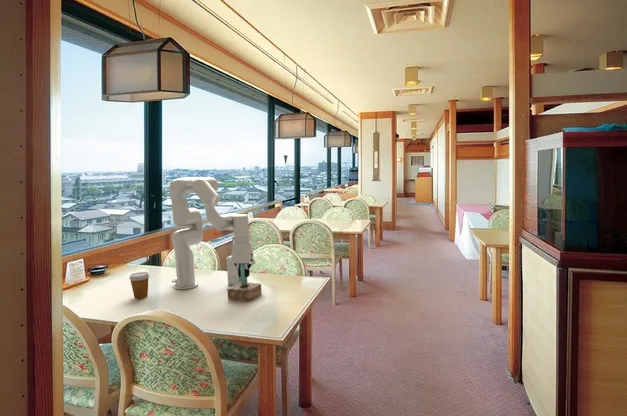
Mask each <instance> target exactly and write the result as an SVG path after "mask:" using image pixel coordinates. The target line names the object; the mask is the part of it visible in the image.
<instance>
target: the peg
mask: <svg viewBox="0 0 627 416" xmlns="http://www.w3.org/2000/svg"><path fill="white" fill-rule="evenodd" d="M240 271H241V285H247V283H248V277H245V264H242V263H240Z"/></svg>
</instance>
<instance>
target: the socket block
mask: <svg viewBox="0 0 627 416" xmlns="http://www.w3.org/2000/svg"><path fill="white" fill-rule="evenodd" d="M262 293H263V292H262V283H259V282H258V283H257V282H247V285H241V282H240V283H238V284H236V285H231V286H230V287H229V288H227V300H228V301H237V302H238V301H239V302H248V303H250V302H252V301H253V300H255V299H257V298H259V296H261V295H262Z"/></svg>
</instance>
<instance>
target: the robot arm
mask: <svg viewBox="0 0 627 416" xmlns="http://www.w3.org/2000/svg"><path fill="white" fill-rule="evenodd" d="M218 190H219V182H218V180H217V179H216V178H214V177H212V176H207V177H206V176H205V177H203V176H198V177H197V176H196V177H195V176H194V177H181V178H176V179H173V180H172V181H171V182H170V184H169V187H168V193H169V194H168V195H169V197H170V201H171V210H172V212H171V213H172V220H173V225H174V226H175V227H176V228H184V227H186V228H184V229H180V230H176V231H174V232H173V233H172V235H171V242H172V245H173V246H172V247H173V251H174V259H175V274H176V277H173V279H172V280H171V282H172V283H175V284H174V289H175V290H180V291H181V290H189V289H194V288H197V287H198V286H199V282H197V281H196V274H195V258H194V252H193V251H192V249H191V248H190V247H191V246H194V245H198V244H200V243H201V242H202V241H203V240H204V227H203V217H202V214H201V212H200V210H199V209H197V208H196V207H189V201H188V199H187V197H186V195H187V194H189V195H190V194H196V195H197V197H198V198H199V200H201V202H202V203H203V204H204V206H205V215H206V219H207V221H208V222H209V223H210V225H211V226H212V227H213V228H214V229H215V230H217V231H220V232H221V231H226V230H232V232H233V237H231V240H233V242H232V245H231V255H232V261H231V263H232V264H234V265H235V266H236V267H237V269H238V276H239V277H241V271H240V263H242V264H245V277H247V278H248V277H250V271H251V270H250V268H251V267H252V266H254V265H256V260H255V259H254V250H253V246H252V242H251V241H250V240H251V239H250V223H249V216H248V215H247V214H245V213H244V214H243V213H242V214H240V213H239V214H238V213H234V212H233V213H226V214H225V213H224V214H220V213H219V212H218V211H217V209H216V208H215V207H216V206H217V205H218V204H219V203H220V201H221V197H220V195H219V193H218V192H217V191H218ZM187 227H189V228H187Z"/></svg>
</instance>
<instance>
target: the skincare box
mask: <svg viewBox="0 0 627 416" xmlns="http://www.w3.org/2000/svg"><path fill="white" fill-rule="evenodd" d="M225 259H226V260H225V261H226V272H227V273H226V274H227V285H228V286H234V285H236V284H238V283H240V282H241V277H239V276H238V269H237V267H236V266H235V265H234V264H232V263H231V261H232V254H231V255H229V256H227V257H225Z"/></svg>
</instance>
